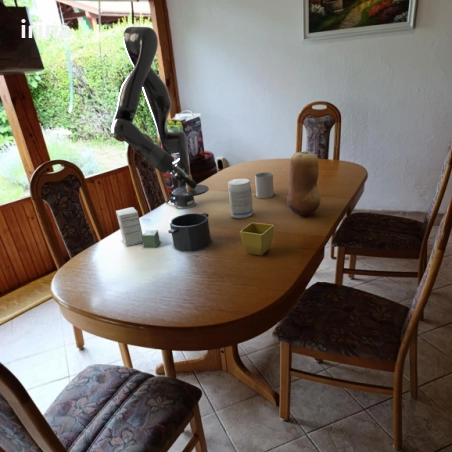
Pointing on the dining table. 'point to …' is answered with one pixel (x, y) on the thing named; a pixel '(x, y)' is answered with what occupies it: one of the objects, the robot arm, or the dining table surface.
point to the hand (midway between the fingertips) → (194, 185)
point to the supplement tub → (240, 198)
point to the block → (150, 239)
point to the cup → (264, 185)
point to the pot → (190, 232)
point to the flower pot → (257, 237)
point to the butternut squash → (304, 184)
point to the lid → (190, 190)
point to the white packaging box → (130, 226)
